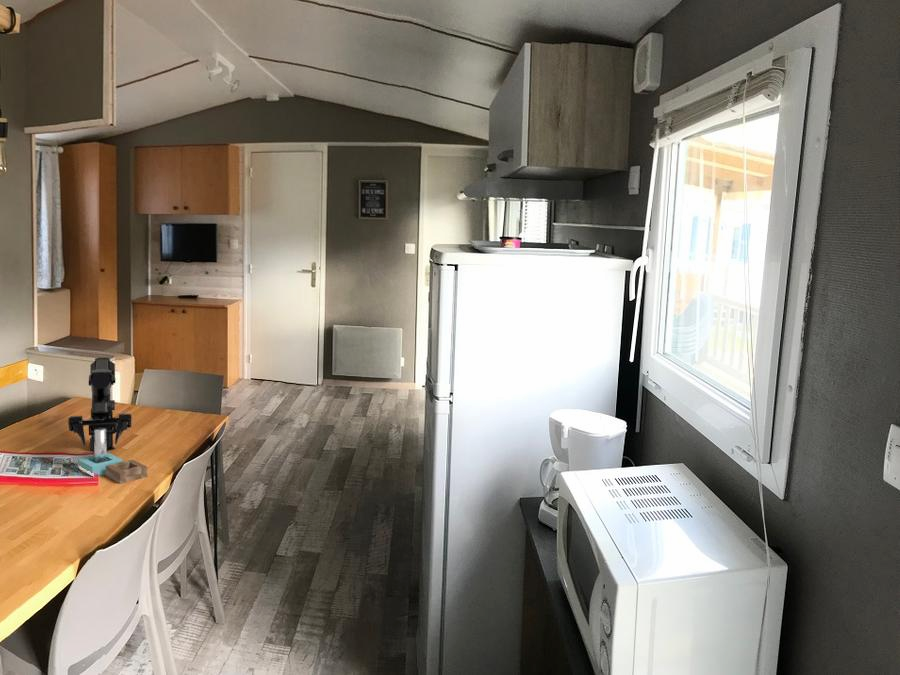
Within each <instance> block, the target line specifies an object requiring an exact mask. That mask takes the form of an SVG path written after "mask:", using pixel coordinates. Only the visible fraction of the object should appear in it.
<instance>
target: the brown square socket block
mask: <svg viewBox="0 0 900 675" xmlns="http://www.w3.org/2000/svg"><path fill="white" fill-rule="evenodd" d="M105 477H107V478H109V479H110V480H113V481H114V482H116V483H118V484H124V483H129V482H132V481H136V480H140V479H143V478H147V477H148V466H147V465H145V464H143V463H140V462H138V461H137V460H135V459H133V458H132V459H129V460H123V462H120V463H116V464H111V465H107V466H106V474H105Z"/></svg>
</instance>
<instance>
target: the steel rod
mask: <svg viewBox="0 0 900 675" xmlns="http://www.w3.org/2000/svg"><path fill="white" fill-rule="evenodd" d="M93 453H94V454H93V456H94V463H96V464H97V463H102V462H106V461H107V453H108V452H107V451H106V428H96V429H94V451H93Z"/></svg>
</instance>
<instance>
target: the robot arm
mask: <svg viewBox="0 0 900 675" xmlns="http://www.w3.org/2000/svg"><path fill="white" fill-rule="evenodd" d="M89 366H90V369H89V370H90V371H89V372H90V374H89V375H88V386H90V387H91V409H90V418H88V419H87V418H86V419H83V415H72V416H69V417H68V421H67V422H68V423H67V424H68V431H70V432H73V433H74V434H75V433H76V434H77V435H78V437H79V438H80V440H81V443H82V445H83V447H86V438H85V431H84V426H88V436H90V438H89V447H88V448H89V450H91V451H93V452H94V429H96V428H106V452H109V451H113V450H116V447H115V446H114V445H117V444H118V443H119V440H120V437H121V436H122V434H123V432H124V431H127V430H128V429H129V428H132V414H131V413H119V414H118V417H113V416H114V413H113V411H115V410H116V403H115V402H116V401H115V400H114V399H113V400H112V398H111V396H112V395H111V394H112V392H111V388H112V386H114V384H116V363H114V362H113V361H111V358H110V357H106V356H105V357H96V358H95V359H94V361H93V362H92V363H91V364H90V365H89ZM114 435H115V438H114Z"/></svg>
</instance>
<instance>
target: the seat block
mask: <svg viewBox="0 0 900 675" xmlns="http://www.w3.org/2000/svg"><path fill="white" fill-rule="evenodd" d="M106 453H107V461H106V462H102V463H97V464H96V463H94V455H90V456H85V457H80V458H77V466H78V465H79V466H81V467H82V468H84V469H86V470H87V471H90V472H91V473H97V474H98V476H97V477H100V476H103V475H105V476H106V466H107V465H111V464H116V463H120V462H124V460H123V459H121V457H118V456H116V455H114V454H112V453H110V452H106Z"/></svg>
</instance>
